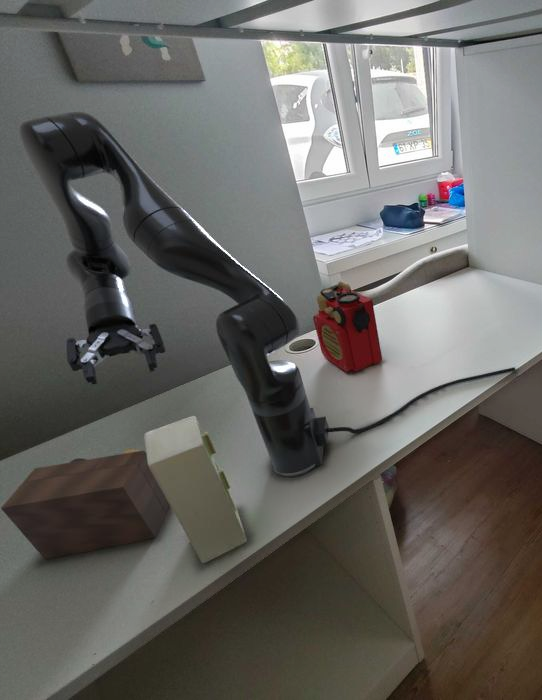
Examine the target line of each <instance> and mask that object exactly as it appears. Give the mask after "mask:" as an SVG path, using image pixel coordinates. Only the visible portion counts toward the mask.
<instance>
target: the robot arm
mask: <svg viewBox="0 0 542 700" xmlns="http://www.w3.org/2000/svg"><path fill="white" fill-rule="evenodd" d="M18 131H19V138H20V141H21V143H22V146H23V149H24V152H25V153H26V155H27V157H28V159H29V161H30V162H31V164H32V166H33V168H34V170H35V171H36V174H37V175H38V177H39V179H40V181H41V183H42V184H43V187H44V188H45V190H46V191H47V193H48V195H49V197H50V199H51V200H52V202H53V203H54V206H55V207H56V208H57V210H58V212H59V214H60V216H61V218H62V221H63V223H64V226H65V229H66V233H67V236H68V238H69V241H70V244H71V246H72V248H73V249H72V250H71V251H69V252H68V254H67V255H66V258H65V263H66V264H65V265H66V268H67V271H68V272H69V273H70V275H71V276H72V278H73V279H74V281H76V282H77V284H78V285H79V287H80V288H81V290H82V295H83V301H84V305H83V310H84V316H85V319H86V327H87V332H88V336H87V337H86V339H81V340H76V339H75V338H74V337H70V338H67V339H66V362H67V363H68V365H69V367H70V369H71V370H72V371H73V372H78V371H80V370H82V374H83V378H84V379H85V381H86V382H87V384H88V383H91V385H93V386H94V385H98V378H97V373H96V372H97V371H96V369H95V368H96V366H98V364H101V363H102V362H103V361H104V360H105V359H106V358H107V357H114V356H117V355H122V354H123V355H124V354H130V353H131V351H132V352H134V353H136V354H138V355H143V356H145V359H146V364H147V367H148V370H149V372H155V369H157V368H158V366H159V365H158V361H157V356H156V355H157V354H163V353H165V352H166V347H165V344H164V343H165V342H164V340H163V338H162V336H161V333H160V330H159V328H158V326H157V324H156V323H150V324H149V325H148V327H147V328H143V329H141V328H139V327H138V323H137V320H136V319H137V318H136V315H135V310H134V309H133V304H132V302H131V300H130V299H129V295H128V290H127V287H126V284H125V281H124V279H126V278H127V277H129V276H130V274H131V271H132V265H131V262H130V260H129V257H128V256H127V254H126V252H125V251H124V250H123V248H121V246H120V244H119V243H118V242H117V241H116V238H115V237H116V236H115V233H114V229H113V223H112V221H111V218H110V216H109V214H108V213H107V211H105V209H104V208H103V207H102V206H100V205H99V204H98V203H97V202H95V201H93V200H92V199H90V198H88V197H86V196H85V195H83V194H82V193H81V192H79V191H78V190H76V189H75V188H73V187H72V185H71V181H75V180H76V181H78V180H81V179H86V178H88V177H92V176H96V175H101V174H104V173H106V174H109V175H111V176H112V177H113V178H114V179H115V180H116V181H117V182H118V184H119V188H120V192H121V205H122V206H121V207H122V223H123V226H124V229H125V232H126V234H127V236H128V238H129V239H130V240H131V241H132V242H133V244H134V245H135V246H136V247H137V248H138V249H139V250H140V251H142V252H143V253H144V254H145V255H146V256H147V257H148V258H149V259H150V260H151V261H152V262H153V263H154V264H155V265H156V266H158V267H159V268H161V270H164V271H166V272H167V273H170V274H172V275H174V276H177V277H179V278H182V279H185V280H188V281H190V282H194V283H197V284H201V285H203V286H207V287H209V288H212V289H214V290H216V291H219V292H220V293H223V294H224V295H225V296H227V297H229V298H230V299H231V300H233V301H234V302H235V303H237V304H235V305H233V306H231V307H230V308H228V309H225V310H223V311H222V312H220V313H219V314H218V315H217V317H216V319H215V327H216V328H215V329H216V333H217V336H218V339H219V341H220V344H221V346H222V348H223V350H224V353H225V355H226V357H227V360H228V362H229V363H230V365H231V368H232V370H233V373H234V375H235V377H236V379H237V381H238V382H239V384H240V385H241V387H242V388H243V390H244V392H245V395H246V398H247V400H248V403H249V406H250V409H251V411H252V414H253V417H254V420H255V422H256V424H257V427H258V430H259V433H260V435H261V437H262V441H263V443H264V446H265V448H266V451H267V454H268V457H269V460H270V463H271V466H272V468H273V471H274V473H276V474H278V475H280V476H283V477H296V476H300V475H304V474H306V473H308V472H310V471H311V470H313V469H314V468H316V467H321V466H322V464H323V457H324V446H328V441H329V433H336V432H348V433H351V434H361V433H364V432H367V431H369V430H371V429H374V428H377V427H378V426H380V425H382V424H384V423H386V422H387V421H389V420H391V419H393V418H394V417H396V416H398V415H399V414H401V413H403V411H405V410H406V409H407V408H408V407H410V406H411V405H412V404H414V403H416V402H417V401H419V400H420V399H422V398H425V397H426V396H428V395H430V394H432V393H434V392H436V391H439V390H441V389H444V388H447V387H450V386H453V385H456V384H460V383H464V382H469V381H474V380H479V379H483V378H487V377H492V376H496V375H500V374H505V373H510V372H514V371H516V367H510V368H506V369H500V370H495V371H492V372H491V371H490V372H486V373H483V374H478V375H473V376H468V377H464V378H459V379H456V380H452V381H448V382H446V383H444V384H440V385H438V386H435V387H433V388H430V389H429V390H426V391H425V392H422V393H420V394H418V395H417V396H415V397H413V398H411V400H409V401H408V402H407V403H405V404H403V406H401V407H400V408H398V409H397V410H395V411H394V412H392V413H390V414H388V415H387V416H385V417H384V418H381V419H380V420H378V421H375V422H374V423H371V424H370V425H367V426H365V427H361V428H356V429H355V428H352V427H350V426H339V427H338V426H337V427H329V424H328V419H327V416H326V415H325V416H319V417H317V415H316V411H315V409H314V407H311V406H310V403H309V399H308V396H307V393H306V388H305V385H304V381H303V377H302V374H301V371H300V369H299V367H298V365H296V364H295V363H294V362H292V361H288V360H282V359H281V360H279V359H278V360H277V359H276V360H269V359H268V357H269V356H270V355H271V354H273V353H275V352H276V351H278V350H280V349H282V348H283V347H285V346H287V345H288V344H289V343H291V342H293V341H294V340H295V339H296V338H297V337H298V336H299V333H300V322H299V319H298V317H297V316H296V313H295V312H294V310H293V309H292V308H291V307H290V305H289V304H288V303H287V302H286V300H284V299H283V298H282V297H281V296H280V295H279V294H278V293H276V292H275V291H274V290H273V289H272V288H270V287H269V286H268V285H266V284H265V283H264V282H263V281H262V280H260V279H259V278H258V277H256V275H254V274H253V273H252V272H251V271H249V269H247V268H246V267H245V266H243V265H242V264H240V263H239V262H238V261H237V260H236V259H235V258H234V257H233V256H232V255H231V254H230V253H228V252H227V250H225V249H224V248H223V247H222V246H221V245H220V244H219V243H218V242H217V241H216V240H215V239H214V238H213V237H212V236H211V235H210V233H208V232H207V231H206V230H205V229H204V228H203V227H202V225H200V224H199V222H198V221H196V220H195V219H194V218H193V217H192V216H191V215H190V214H189V213H188V212H187V211H186V210H185V209H184V208H182V206H181V205H179V204H178V203H177V202H176V201H175V200H174V199H173V198H172V197H171V196H170V195H169V194H167V192H166V191H165V190H164V189H162V187H161V186H159V185H158V184H157V183H156V182H155V180H153V179H152V177H150V176H149V174H148V173H147V172H146V171H145V170H144V169H143V168H142V167H141V166H140V164H138V162H137V161H136V160H135V158H134V157H133V156H132V155H131V154H130V153H129V152H128V151H127V150H126V148H124V147H125V146H123V145H122V143H120V142H119V140H118V139H117V138H116V137H115V136H114V134H113V133H112V132H111V131H110V130H109V129H108V128H107V127H106V126H105V125H104V124H103V123H102V122H101V121H99V120H98V118H96V117H94V116H93V115H92V114H89V113H87V112H83V111H69V112H65V113H60V114H59V113H58V114H53V115H49V116H48V115H47V116H42V117H35V118H31V119H28V120H25V121H23V122H21V124H20V125H19V130H18ZM144 337H147V338H148V339H150V340H153V341H154V343H153V344H151V343H148V342H146V341H144V340H143V338H144ZM87 347H88V348H87ZM85 348H87V351H86V353H85V354H84V355H83V356H82V357H81V354H83V353H84V350H85Z"/></svg>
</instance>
